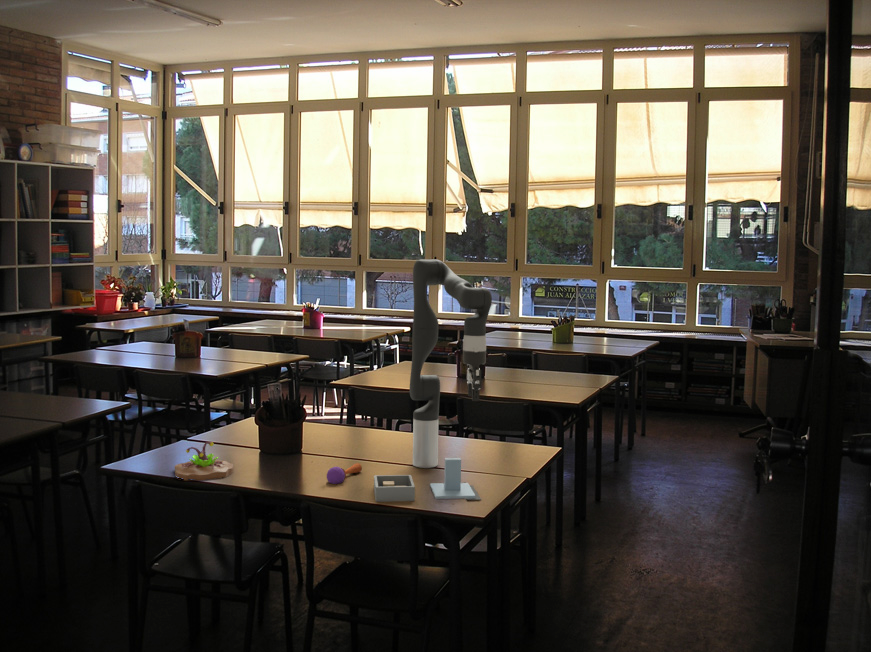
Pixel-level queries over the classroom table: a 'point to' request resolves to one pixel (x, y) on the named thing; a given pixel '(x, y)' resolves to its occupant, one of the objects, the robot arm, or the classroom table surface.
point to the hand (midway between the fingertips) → (473, 398)
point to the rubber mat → (474, 493)
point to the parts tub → (394, 488)
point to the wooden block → (388, 483)
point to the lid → (452, 482)
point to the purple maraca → (341, 473)
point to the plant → (203, 466)
